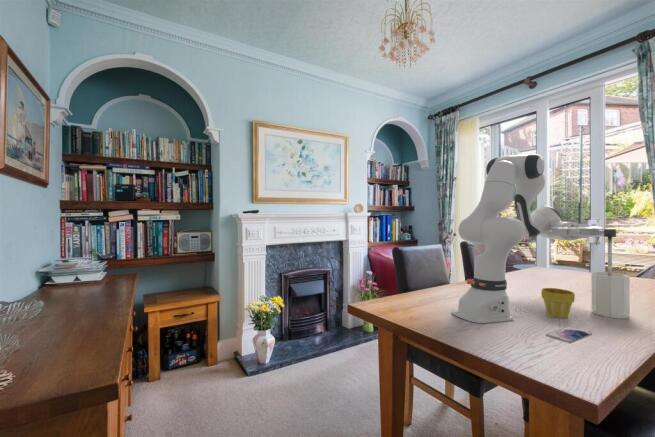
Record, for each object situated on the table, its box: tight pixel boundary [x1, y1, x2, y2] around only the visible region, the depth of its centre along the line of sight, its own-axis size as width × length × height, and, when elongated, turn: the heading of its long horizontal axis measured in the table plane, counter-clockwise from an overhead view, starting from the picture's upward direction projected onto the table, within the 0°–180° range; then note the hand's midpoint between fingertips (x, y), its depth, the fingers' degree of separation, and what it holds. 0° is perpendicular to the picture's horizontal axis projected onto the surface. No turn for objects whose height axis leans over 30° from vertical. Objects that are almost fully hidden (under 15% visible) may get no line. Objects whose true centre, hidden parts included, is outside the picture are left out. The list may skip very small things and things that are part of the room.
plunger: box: [603, 228, 617, 276], centre depth 118 cm, size 8×8×22 cm
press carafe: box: [590, 271, 631, 320], centre depth 119 cm, size 13×10×16 cm
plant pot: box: [541, 287, 575, 319], centre depth 117 cm, size 10×10×10 cm
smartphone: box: [545, 326, 593, 344], centre depth 98 cm, size 7×1×15 cm
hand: (591, 232), depth 127 cm, fingers open, 8 cm apart
